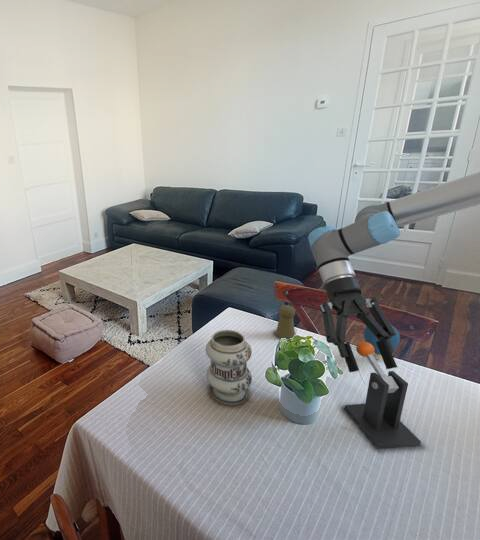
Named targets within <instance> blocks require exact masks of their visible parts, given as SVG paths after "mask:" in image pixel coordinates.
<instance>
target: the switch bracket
mask: <svg viewBox="0 0 480 540" xmlns="http://www.w3.org/2000/svg"><path fill="white" fill-rule="evenodd" d="M387 376H392V378H393V379H394V381H395V382H396V384H397V385H398V387H399V388H398V389H397V390H396V391H395V392H394V393H388V389H389V385H388V384H387V383H386V382H385V381H384V380H383V379H382V378H381V377H379V376H378V375H377V373H376V372H370V374H369V380H368V386H367V390H366V391H367V392H366V397H365V403H354V404H353V403H352V404H345V405H344V408H343V409H344V411H345V412H346V413H347V414H348V415H349V417H350V418H351V419H352V420H353V421H354V423H355V424H356V425H357V426H358V428H360V430H361V431H362V432H363V433H364V435H366V437H367V438H368V440H369V441H371V443H372V444H373V445H374V447H375V448H376V449H377V450H380V449H397V448H409V447H419V446H421V443H422V441H421V440H420V439H419V438H418V437H417V436H416V435H415V434H414V433H413V432H412V431H411V430H410V429H409V428H408V427H407V426H406V425H405V424H404V423H403V422H402V421H401V418H402V413H403V410H404V404H405V400H406V396H407V391H408V387H409V383H408V382H407V381H406V380H405V379H403V378H402V377H401V376H400V375H399V374H397V373H396V372H395V371H394V370H389V371H388V372H387Z"/></svg>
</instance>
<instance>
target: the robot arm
mask: <svg viewBox="0 0 480 540" xmlns="http://www.w3.org/2000/svg"><path fill="white" fill-rule="evenodd" d="M477 206H480V171H478V172H475V173H472V174H469V175H466V176H462V177H460V178H457V179H454V180H451V181H448V182H445V183H442V184H439V185H435V186H432V187H430V188H426V189H423V190H421V191H417V192H414V193H411V194H408V195H405V196H401V197H398V198H396V199H392V200H390V201H387V202H383V203H381V204H371V205H367V206H365V207H363V208H362V209H361V210H359V212H358V213H357V214H356V215H355V218H354V222H353V223H351V224H349V225H346V226H344V227H341V228H338V229H337V227H336V226H334V225H329V224H328V225H324V226H319V227H318V228H315V229H313V230H312V231H311V232H310V233H309V234H308V237H307V241H308V243H309V247H310V252H311V254H312V255H313V258H314V261H315V264H316V266H317V269H318V272H319V275H320V279H321V281H322V283H323V284H324V290H325V292H326V295H327V298H328V299H329V302H322V303H321V304H320V305H319V306H318V309H319V311H320V312H321V314H322V319H323V320H322V321H323V327H324V332H325V340H326V343H328V344H333V345H334V346H336V347H337V350H338V352H339V356H340V357H341V358H342V359H344V360H345V363H346V366H347V369H348V371H349V373H354V372H358V371H360V368H359V367H358V366H359V365H358V363H357V361H356V358H355V354H354V352H353V349H352V347H351V344H350V342H346V333H347V325H348V324H347V322H348V317H350V316H353V317H354V316H355V317H356V318H357V319H359V320H360V321H361V322H362V323H363V324H364V325H365V326H366V327H368V328H369V329H370V331H371V332H372V333H373V334H374V335H375V336H376V337H377V338H378V340H379V341H377V342H376V343H377V346H378V349H379V351H380V354H381V356H382V358H381V359H382V361H383V364H384V367H385V369H386V370H390V369H396V368H398V366H397V363H396V360H395V358H394V355H393V354H394V353H395V352H394V349H393V348H392V345H391V343H390V340H389V339H390V338H391V337H393V336H395V335H396V332H395V331H394V329H393V327H392V326H393V325H392V324H391V323H390V321H389V320H388V318H387V316H386V314H385V313H384V311H383V310H382V308H381V306H380V302H379V299H378V298H377V297H374V298H366V297H365V296H364V295H363V294H362V288H361V285H360V283H359V281H358V278H357V277H356V273H355V270H354V268H353V265H352V263H351V261H350V259H349V256H352V255H355V254H357V253H360V252H364V251H367V250H369V249H373V248H375V247H378V246H381V245H384V244H387V243H389V242H391V241H393V240H395V239H397V238H399V237H400V236H401V230H400V228H401V227H405V226H409V225H412V224H416V223H419V222H423V221H427V220H430V219H433V218H437V217H441V216H444V215H448V214H451V213H455V212H459V211H463V210H465V209H469V208H472V207H477ZM332 310H334V311H336V315H335V318H336V326H335V322H334V315H333V311H332ZM391 325H392V326H391Z"/></svg>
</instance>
